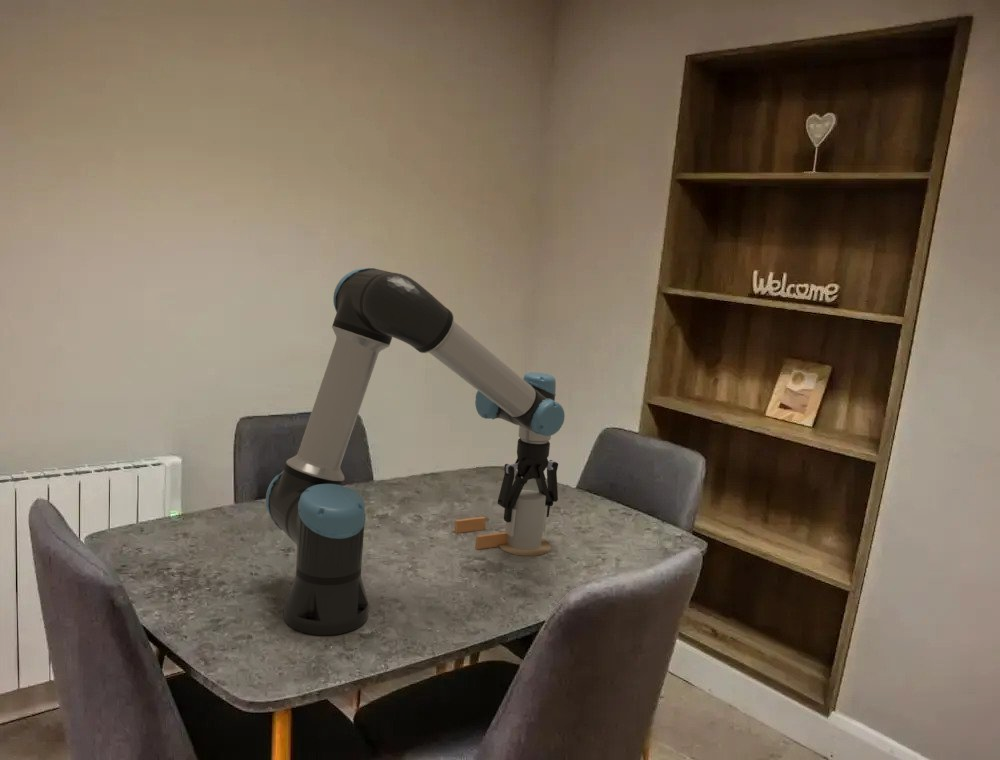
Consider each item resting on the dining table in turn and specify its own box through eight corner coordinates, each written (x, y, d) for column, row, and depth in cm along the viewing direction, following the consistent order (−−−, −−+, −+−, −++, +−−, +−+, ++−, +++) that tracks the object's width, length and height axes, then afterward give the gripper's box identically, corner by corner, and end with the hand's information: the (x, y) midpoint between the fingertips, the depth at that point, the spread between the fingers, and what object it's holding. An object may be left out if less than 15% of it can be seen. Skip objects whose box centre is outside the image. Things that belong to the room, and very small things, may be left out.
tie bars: (506, 545, 185) (507, 533, 184) (477, 549, 180) (478, 537, 180) (482, 527, 194) (483, 516, 194) (454, 531, 190) (455, 519, 190)
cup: (541, 539, 189) (546, 491, 187) (540, 551, 181) (545, 502, 179) (508, 535, 190) (513, 488, 188) (505, 547, 182) (510, 498, 180)
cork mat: (561, 552, 184) (561, 550, 183) (514, 559, 177) (515, 557, 177) (531, 532, 194) (531, 530, 194) (486, 538, 188) (486, 536, 188)
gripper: (561, 433, 190) (552, 521, 194) (487, 437, 179) (479, 531, 183) (580, 441, 183) (570, 532, 187) (503, 446, 173) (495, 543, 177)
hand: (525, 532), depth 185 cm, fingers closed on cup, 8 cm apart
